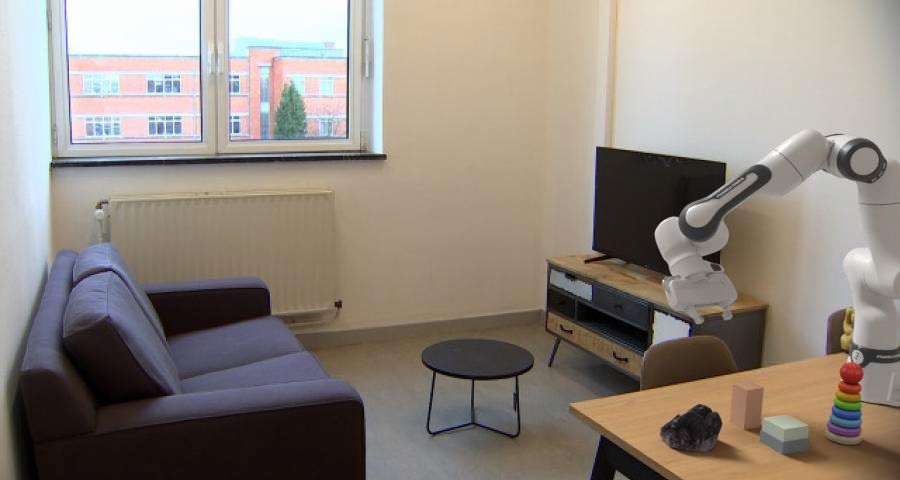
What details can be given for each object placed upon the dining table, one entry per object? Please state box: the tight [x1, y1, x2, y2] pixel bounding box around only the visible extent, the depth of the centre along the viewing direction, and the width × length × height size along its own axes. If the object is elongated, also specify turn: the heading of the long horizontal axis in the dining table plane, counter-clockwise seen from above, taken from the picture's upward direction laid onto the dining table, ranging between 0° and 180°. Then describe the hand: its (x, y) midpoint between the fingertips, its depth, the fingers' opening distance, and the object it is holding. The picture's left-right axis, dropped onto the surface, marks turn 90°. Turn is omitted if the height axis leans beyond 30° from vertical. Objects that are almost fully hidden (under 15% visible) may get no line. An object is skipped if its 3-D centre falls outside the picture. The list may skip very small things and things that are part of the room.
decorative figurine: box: [840, 306, 855, 354], centre depth 268 cm, size 10×8×15 cm
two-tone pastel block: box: [758, 413, 810, 455], centre depth 200 cm, size 8×8×6 cm
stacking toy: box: [824, 362, 864, 446], centre depth 203 cm, size 8×8×19 cm
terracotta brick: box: [729, 380, 765, 431], centre depth 212 cm, size 5×5×10 cm
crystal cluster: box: [659, 403, 723, 453], centre depth 201 cm, size 13×14×10 cm
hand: (714, 320), depth 219 cm, fingers open, 8 cm apart
